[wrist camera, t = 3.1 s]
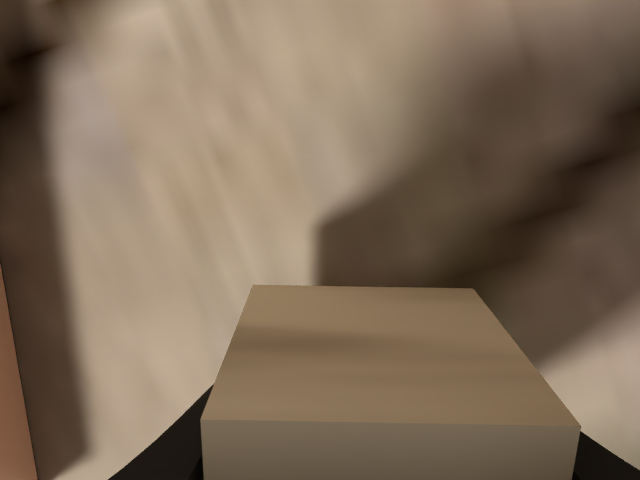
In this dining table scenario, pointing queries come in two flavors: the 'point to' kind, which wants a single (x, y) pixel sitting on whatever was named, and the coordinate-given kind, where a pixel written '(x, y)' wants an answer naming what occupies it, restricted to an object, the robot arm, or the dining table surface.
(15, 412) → the terracotta base
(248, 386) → the birch block
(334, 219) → the dining table surface
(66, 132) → the dining table surface
